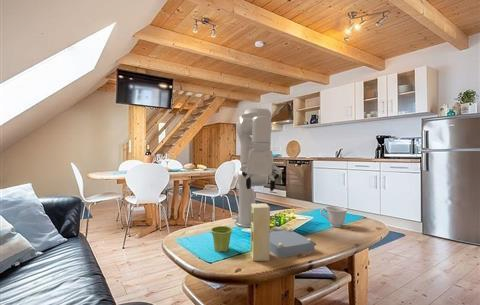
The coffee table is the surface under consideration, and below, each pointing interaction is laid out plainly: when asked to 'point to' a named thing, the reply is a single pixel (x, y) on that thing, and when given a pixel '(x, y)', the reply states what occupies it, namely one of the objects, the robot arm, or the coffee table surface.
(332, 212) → the teacup
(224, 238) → the plant pot
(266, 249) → the cream tall block
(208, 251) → the coffee table surface
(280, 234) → the base block
